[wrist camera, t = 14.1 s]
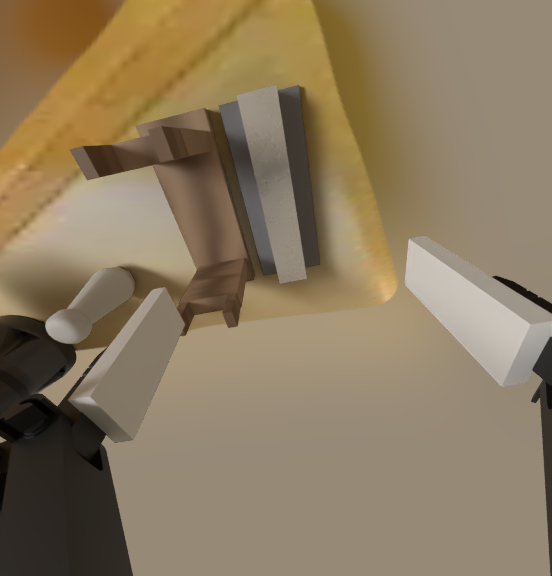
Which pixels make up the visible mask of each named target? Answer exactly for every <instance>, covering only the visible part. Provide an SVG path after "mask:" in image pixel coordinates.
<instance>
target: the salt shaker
mask: <svg viewBox="0 0 552 576" xmlns="http://www.w3.org/2000/svg"><path fill="white" fill-rule="evenodd" d="M134 289H135V281H134V279H133V277H132V275H131V273H130V272H129V271H127V270H125V269H122V268H120V267H113V268H106V269H101V270H99V271H98V272H96V273H95V274H94V275H93V276H92V277H91V278H90V280H89V281H88V282H87V284H86V285H85V286H84V287H83V289H82V290H81V291H80V293H79V294H78V295H77V296H76V298H75V299H74V300H73V301H72V303H71V304H70V305H69V307H68V308H67V309H61V310H59V311H57V312H56V313H55V314H53V315H52V316H51V317H49V318H48V320H47V321H46V325H45V328H46V331H47V333H48V334H49V335H50V336H51V337H52V338H53V339H55V340H57V341H59V342H61V343H66V344H74V343H79V342H81V341H82V340H84V339H85V338H86V337H88V335H89V334H90V333H91V330H92V327H93V325H92V324H94V323H95V322H97V321H98V320H99V319H101V318H102V317H104V316H105V315H107V314H108V313H110V312H111V311H112V310H114V309H115V308H117V307H118V306H120V305H121V304H122V303H124V302H125V301H127V300H128V299H130V298H131V297H132V294H133V292H134Z"/></svg>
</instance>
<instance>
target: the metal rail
mask: <svg viewBox="0 0 552 576" xmlns="http://www.w3.org/2000/svg"><path fill="white" fill-rule="evenodd" d="M237 100H238V104H239V108H240V113H241V117H242V121H243V126H244V130H245V135H246V139H247V143H248V148H249V152H250V156H251V161H252V165H253V169H254V174H255V178H256V183H257V187H258V191H259V196H260V200H261V204H262V209H263V213H264V217H265V222H266V226H267V231H268V235H269V239H270V244H271V248H272V252H273V257H274V261H275V265H276V270H277V274H278V279H279V283H280V284H282V283H287V282H292V281H298V280H303V279H307V276H306V270H305V263H304V257H303V251H302V244H301V238H300V231H299V225H298V219H297V212H296V206H295V199H294V193H293V187H292V180H291V174H290V168H289V161H288V155H287V148H286V142H285V136H284V129H283V123H282V116H281V110H280V104H279V97H278V91H277V85H274V86H271V87H267V88H263V89H259V90H255V91H251V92H247V93H244V94H240V95H237Z"/></svg>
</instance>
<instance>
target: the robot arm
mask: <svg viewBox="0 0 552 576" xmlns="http://www.w3.org/2000/svg"><path fill="white" fill-rule="evenodd" d="M405 285H406V286H407V287H408V288H409V289H410V290H411V291H412V293H413V294H414V295H415V296H416V297H417V298H418V299H419V300H420V301H421V302H422V303H423V304H424V305H425V306H426V307H427V308H428V309H429V311H430V312H431V313H432V314H433V315H434V316H435V317H436V318H437V319H438V320H439V321H440V322H441V323H442V324H443V325H444V326H445V327H446V328H447V330H448V331H449V332H450V333H451V334H452V335H453V336H454V337H455V338H456V339H457V340H458V341H459V342H460V343H461V344H462V345H463V346H464V347H465V348H466V350H467V351H468V352H469V353H470V354H471V355H472V356H473V357H474V358H475V359H476V360H477V361H478V362H479V363H480V364H481V365H482V366H483V368H484V369H485V370H486V371H487V372H488V373H489V374H490V375H491V376H492V377H493V378H494V379H495V380H496V381H497V382H498V383H499V384H500V385H501V387H502V386H509V385H516V384H523V383H526V382H527V380H528V378H529V376H530V375H531V373H532V371H534V372H535V373H536V374H537V375H539V376H540V377H541V378H542V379H543V380H542V382H541V384H540V385H539V387H538V389H537V390H536V392H535V394H534V395H533V397H532V400H531V402H534V403H536V402H537V401H538V399H539V398H540V404H541V419H542V438H543V454H544V472H545V488H546V506H547V522H548V539H549V557H550V573H551V576H552V304H551V303H550V302H548V301H546V300H545V299H543V298H541V297H539V298H538V296H537V295H536V294H534V293H532V292H530V291H527V290H526V289H525V288H524V287H522V286H520V285H518V284H517V283H515V282H513V281H510V280H507V279H504V278H501V277H498V276H493V277H491V276H489V275H488V274H486V273H484V272H483V271H481V270H479V269H478V268H476V267H475V266H473V265H471V264H470V263H468V262H466V261H465V260H463V259H462V258H460V257H458V256H457V255H455V254H453V253H452V252H450V251H448V250H447V249H445V248H444V247H442V246H440V245H439V244H437V243H435V242H434V241H432V240H431V239H429V238H427V237H426V236H420V237H415V238H410V239H409V244H408V254H407V265H406V275H405ZM45 325H46V324H43V323H41V322H39V321H36V320H33V319H29V318H25V317H20V316H1V317H0V436H1V437H2V438H4V439H5V440H7V441H5V442H2V443H0V576H133V573H132V569H131V564H130V559H129V555H128V550H127V545H126V541H125V536H124V531H123V527H122V522H121V518H120V513H119V508H118V504H117V499H116V494H115V489H114V485H113V480H112V475H111V471H110V466H109V462H108V457H107V452H106V449H105V447H104V446H103V445H102V444H101V443H102V441H103V439H104V438H105V436H106V435H107V436H108V437H109V438H110V439H111V440H113V441H114V442H115V443H118V442H124V441H131V440H134V439H135V436H136V434H137V432H138V429H139V428H140V425H141V423H142V421H143V419H144V416H145V414H146V412H147V409H148V407H149V405H150V403H151V400H152V398H153V396H154V393H155V391H156V389H157V387H158V385H159V382H160V380H161V378H162V376H163V373H164V371H165V369H166V367H167V364H168V362H169V359H170V358H171V355H172V353H173V351H174V349H175V346H176V344H177V342H178V339H179V337H180V335H181V333H182V330H183V328H184V326H185V323H184V321H183V320H182V318H181V316H180V314H179V312H178V310H177V308H176V306H175V304H174V303H173V301H172V299H171V297H170V295H169V293H168V291H167V289H166V287H163V288H158V289H153V290H152V291H151V292H150V293H149V294H148V296H147V297H146V298H145V300H144V301H143V302H142V304H141V305H140V306H139V308H138V309H137V310H136V311H135V313H134V314H133V315H132V317H131V318H130V319H129V321H128V322H127V323H126V325H125V326H124V327H123V328H122V330H121V331H120V332H119V334H118V335H117V336H116V338H115V339H114V340H113V342H112V343H111V344H110V345H109V347H107V348H106V349H105V350H104V351H102V352H101V353H100V354H99V355H98V356H97V357H96V358H95V359H94V361H93V362H92V363H91V365H90V366H89V368H87V370H86V371H85V372H84V373H83V376H82V377H80V378H79V380H78V381H77V383H76V384H75V385H74V386H73V387H72V389H71V390H70V391H69V392H68V394H67V395H66V396H65V398H64V399H63V400H62V401H61V403H60V404H59V405H58V406H56V405H54V404H53V403H52V402H51V401H50V400H49V399H47V398H46V397H45V396H44V395H43V394H38V393H39V392H40V391H42V390H43V389H45V388H46V387H48V386H50V385H51V384H53V383H54V382H56V381H57V380H59V379H60V378H62V377H63V376H64V375H65V374H66V373H67V372H68V371H69V370H70V369H71V368H72V367H73V365H74V364H75V362H76V352H75V350H74V348H73V346H72V345H71V344H66V343H61V342H59V341H57V340H55V339H53V338H52V337H51V336H50V335H49V334H48V333H47V331H46V328H45Z"/></svg>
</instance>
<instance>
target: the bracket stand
mask: <svg viewBox="0 0 552 576" xmlns="http://www.w3.org/2000/svg"><path fill="white" fill-rule="evenodd" d="M136 128H137V131H138V133H139V135H140V138H137V139H133V140H129V141H125V142H121V143H117V144H113V145H101V146H82V147H78V148H74V149H70V151H71V153H72V155H73V156H74V158H75V160H76V162H77V163H78V165H79V167H80V169H81V170H82V172H83V174H84V176H85V177H86V179H87V180H90V179H94V178H99V177H103V176H108V175H112V174H116V173H121V172H125V171H129V170H134V169H138V168H143V167H147V166H151V165H152V166H153V168H154V170H155V173H156V175H157V177H158V180H159V182H160V184H161V187H162V189H163V191H164V194H165V196H166V198H167V201H168V203H169V205H170V208H171V210H172V212H173V215H174V217H175V219H176V222H177V224H178V226H179V229H180V231H181V234H182V236H183V238H184V241H185V243H186V245H187V248H188V250H189V252H190V255H191V257H192V259H193V262H194V264H195V266H196V269H197V271H196V273H195V275H194V277H193V279H192V281H191V282H190V284H189V286H188V288H187V290H186V291H185V293H184V295H183V297H182V299H181V301H180V302H179V306H178V307H177V310H178V312H179V314H180V316H181V318H182V320H183V321H184V323H185V326H184V328H183V330H182V333H181V335H180V336H185V335H186V333H187V331H188V329H189V326H190V324H191V322H192V319H193V317H194V315H198V314H203V313H209V312H214V311H220V310H223V316H224V318H225V321H226V323H227V326H228V328H230V327H236V326H238V320H239V314H240V308H241V307H242V301H243V295H244V289H245V283H246V281H251V280H254V277H255V275H254V271H253V268H252V264H251V261H250V257H249V254H248V250H247V247H246V243H245V240H244V236H243V233H242V229H241V226H240V222H239V219H238V215H237V212H236V209H235V205H234V202H233V198H232V195H231V191H230V188H229V184H228V181H227V177H226V174H225V170H224V167H223V163H222V160H221V156H220V153H219V149H218V146H217V142H216V139H215V135H214V132H213V129H212V125H211V122H210V118H209V115H208V111H207V109H205V108H203V109H199V110H195V111H191V112H187V113H184V114H180V115H176V116H172V117H168V118H164V119H160V120H157V121H153V122H149V123H145V124H141V125H137V126H136Z"/></svg>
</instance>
